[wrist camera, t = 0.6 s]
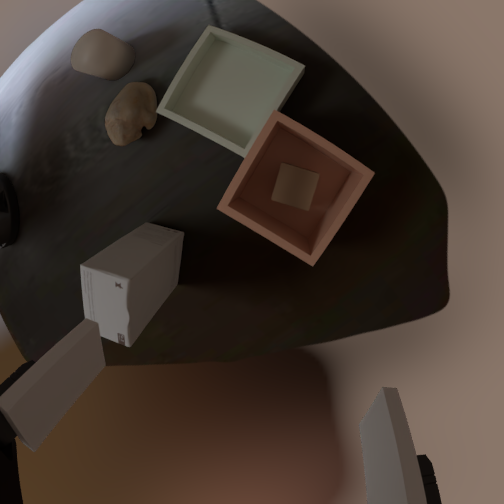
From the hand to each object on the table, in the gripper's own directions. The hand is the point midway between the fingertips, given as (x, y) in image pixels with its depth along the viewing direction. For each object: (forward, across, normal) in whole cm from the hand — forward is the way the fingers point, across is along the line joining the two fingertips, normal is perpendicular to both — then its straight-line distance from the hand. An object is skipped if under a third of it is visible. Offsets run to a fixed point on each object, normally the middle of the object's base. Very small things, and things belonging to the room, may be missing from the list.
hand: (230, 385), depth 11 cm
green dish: (+25, -8, +17) cm, 31 cm away
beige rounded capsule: (+25, -25, +21) cm, 41 cm away
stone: (+25, -20, +13) cm, 35 cm away
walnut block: (+24, +1, +7) cm, 25 cm away
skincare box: (+25, -14, -6) cm, 29 cm away
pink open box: (+25, +1, +7) cm, 26 cm away
